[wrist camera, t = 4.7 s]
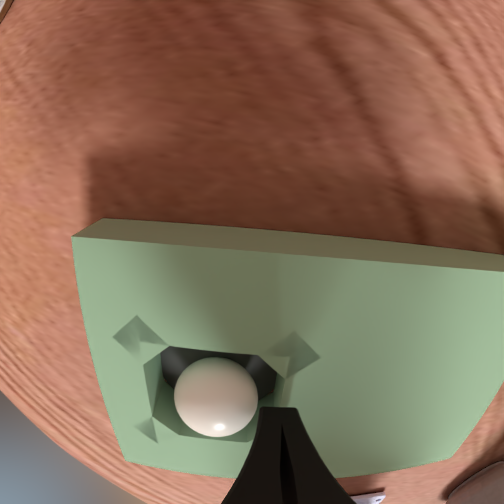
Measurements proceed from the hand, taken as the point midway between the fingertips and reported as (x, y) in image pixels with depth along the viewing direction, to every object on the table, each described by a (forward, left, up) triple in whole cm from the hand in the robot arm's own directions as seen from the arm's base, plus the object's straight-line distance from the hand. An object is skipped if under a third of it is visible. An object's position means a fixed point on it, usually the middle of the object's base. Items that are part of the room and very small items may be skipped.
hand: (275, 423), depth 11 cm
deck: (0, -3, -3) cm, 4 cm away
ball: (0, +2, -2) cm, 3 cm away
